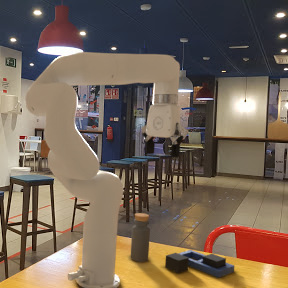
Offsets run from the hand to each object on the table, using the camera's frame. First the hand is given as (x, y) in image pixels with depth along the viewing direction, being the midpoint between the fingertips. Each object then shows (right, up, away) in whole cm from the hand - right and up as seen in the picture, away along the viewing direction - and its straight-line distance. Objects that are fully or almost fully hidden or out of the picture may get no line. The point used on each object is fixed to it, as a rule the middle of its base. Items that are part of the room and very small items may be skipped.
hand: (162, 155), depth 119 cm
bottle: (-6, -35, +7) cm, 36 cm away
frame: (+14, -36, +4) cm, 39 cm away
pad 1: (+5, -36, 0) cm, 36 cm away
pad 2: (+17, -36, +1) cm, 40 cm away
